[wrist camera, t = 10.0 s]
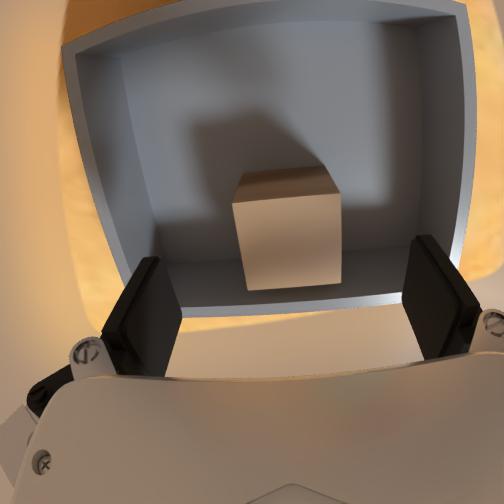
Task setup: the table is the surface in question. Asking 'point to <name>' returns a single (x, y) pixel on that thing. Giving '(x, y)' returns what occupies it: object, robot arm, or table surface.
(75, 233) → the table surface
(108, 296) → the table surface
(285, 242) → the cube
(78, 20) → the table surface
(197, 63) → the tote
